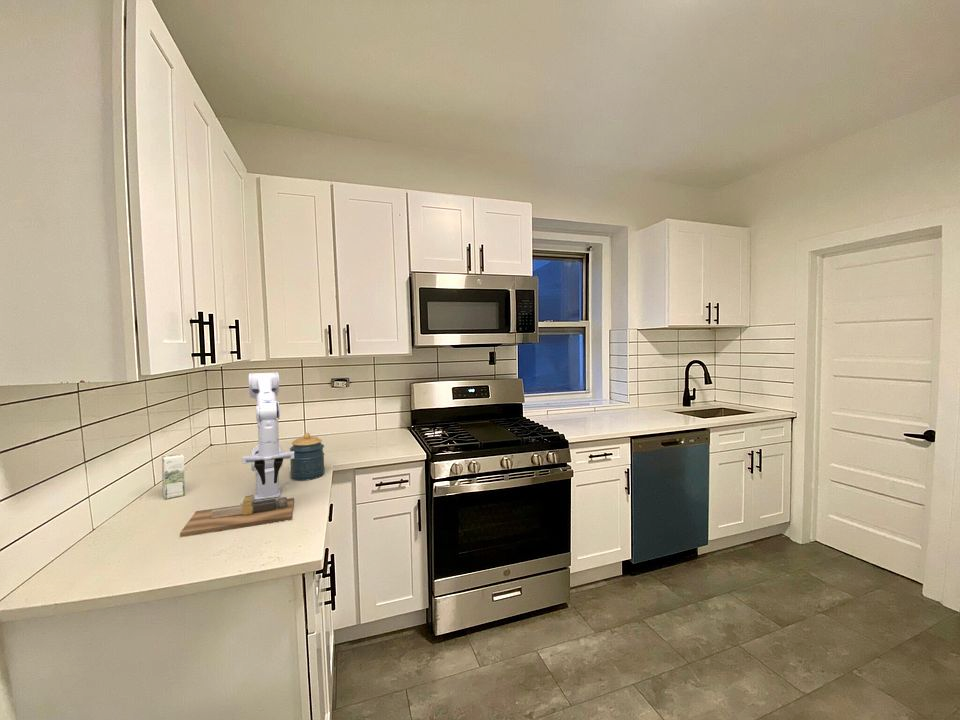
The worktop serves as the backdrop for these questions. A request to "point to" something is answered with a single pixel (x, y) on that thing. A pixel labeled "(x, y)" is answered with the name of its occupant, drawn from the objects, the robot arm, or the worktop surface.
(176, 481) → the syrup box
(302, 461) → the canister
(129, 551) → the worktop surface
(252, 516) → the tong board
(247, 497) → the wooden u-shaped block
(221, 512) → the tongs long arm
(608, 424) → the worktop surface
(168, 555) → the worktop surface
